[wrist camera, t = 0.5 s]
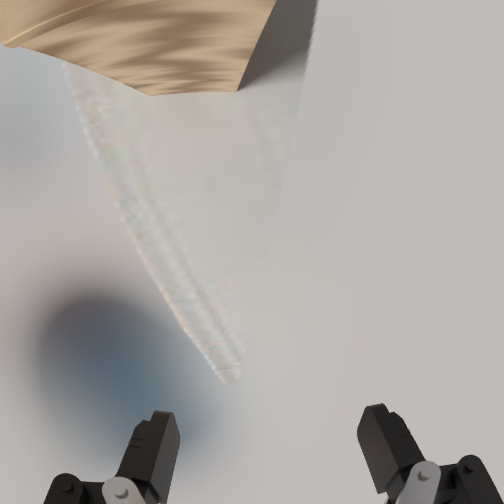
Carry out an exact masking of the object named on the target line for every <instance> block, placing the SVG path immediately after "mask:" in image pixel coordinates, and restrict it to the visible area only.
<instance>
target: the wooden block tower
mask: <svg viewBox="0 0 504 504" xmlns="http://www.w3.org/2000/svg"><path fill="white" fill-rule="evenodd" d="M276 1H277V0H0V42H3V46H6V47H10V48H16V47H18V46H20V47H23V48H27V49H31V50H34V51H37V52H41V53H44V54H47V55H50V56H53V57H56V58H59V59H62V60H65V61H68V62H71V63H73V64H76V65H79V66H81V67H84V68H87V69H89V70H92V71H94V72H97V73H99V74H102V75H104V76H107V77H109V78H111V79H114V80H116V81H118V82H121V83H123V84H125V85H127V86H130V87H132V88H134V89H136V90H138V91H141V92H143V93H145V94H147V95H149V96H153V95H162V94H173V93H188V92H218V91H233V92H236V91H237V89H238V86H239V84H240V81H241V79H242V76H243V74H244V72H245V69H246V67H247V64H248V62H249V60H250V57H251V55H252V53H253V50H254V48H255V46H256V44H257V41H258V39H259V37H260V35H261V33H262V30H263V28H264V26H265V24H266V22H267V20H268V18H269V15H270V13H271V11H272V9H273V7H274V5H275V3H276Z"/></svg>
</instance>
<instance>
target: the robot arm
mask: <svg viewBox="0 0 504 504" xmlns="http://www.w3.org/2000/svg"><path fill="white" fill-rule="evenodd" d="M357 437H358V441H359V444H360V446H361V449H362V452H363V454H364V457H365V459H366V462H367V465H368V468H369V471H370V473H371V476H372V479H373V481H374V484H375V487H376V490H377V493H378V494H380V493H384V492H387V494H388V497H387V499H386V501H385V503H384V504H504V503H503V501H502V499H501V497H500V495H499V493H498V491H497V489H496V487H495V485H494V483H493V481H492V479H491V477H490V475H489V474H488V472H487V470H486V468H485V466H484V464H483V463H482V461H481V460H480V458H478V457H477V456H474V455H467V456H464V457H463V458H462V459H460V461H459V462H458V463H457V464H451V465H444V466H438V465H437V464H435V463H434V462H430V461H426V460H425V458H424V457H423V455H422V453H421V451H420V450H419V447H418V445H417V444H416V442H415V440H414V438H413V436H412V435H411V433H410V431H409V429H408V428H407V426H406V424H405V422H404V420H403V419H402V418H401V417H400V416H399V415H397V414H396V413H395V412H391V413H389V411H388V409H387V408H386V406H385V405H384V404H383V403H381V404H377V405H372V406H367V407H366V408H365V410H364V413H363V415H362V418H361V420H360V423H359V426H358V429H357ZM128 445H129V446H128V447H127V449H126V451H125V454H124V457H123V459H122V462H121V464H120V467H119V469H118V472H117V474H116V475H115V477H113V478H110V479H108V480H107V481H106V482H83V481H80V480H79V479H78V478H77V477H76V476H74V475H72V474H68V473H63V474H60V475H58V476H56V477H55V478H54V480H53V482H52V484H51V486H50V489H49V491H48V494H47V496H46V499H45V501H44V504H158V503H160V504H166V503H167V499H168V494H169V489H170V485H171V480H172V475H173V471H174V466H175V462H176V458H177V454H178V449H179V445H180V434H179V430H178V427H177V424H176V420H175V417H174V414H173V413H172V412H164V411H154V413H153V415H152V418H151V421H145V420H143V421H142V422H141V423H140V424H138V425H137V426H136V427H135V429H134V432H133V434H132V437H131V439H130V441H129V444H128Z"/></svg>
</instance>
